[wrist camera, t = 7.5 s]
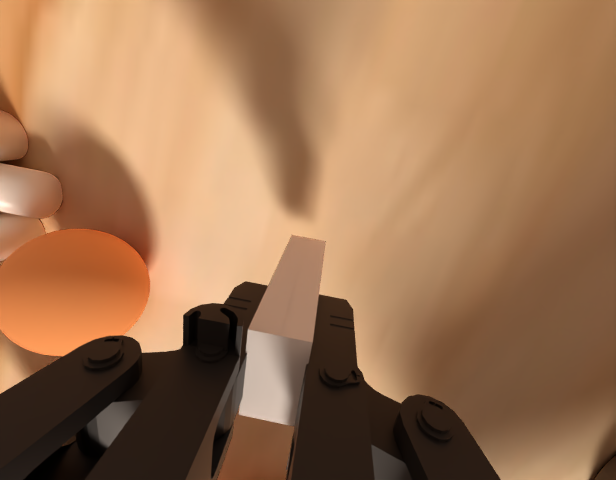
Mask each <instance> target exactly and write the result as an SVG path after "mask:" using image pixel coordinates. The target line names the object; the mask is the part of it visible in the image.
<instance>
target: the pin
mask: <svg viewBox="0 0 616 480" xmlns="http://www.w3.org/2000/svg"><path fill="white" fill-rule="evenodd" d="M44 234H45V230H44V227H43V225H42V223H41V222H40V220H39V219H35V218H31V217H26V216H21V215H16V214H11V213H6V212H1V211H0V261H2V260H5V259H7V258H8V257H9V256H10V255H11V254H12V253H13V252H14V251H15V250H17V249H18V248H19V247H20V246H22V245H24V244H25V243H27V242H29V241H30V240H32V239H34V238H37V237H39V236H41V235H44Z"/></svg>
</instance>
